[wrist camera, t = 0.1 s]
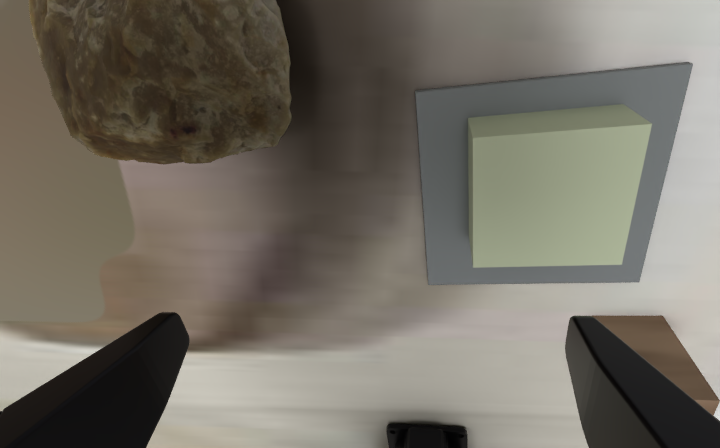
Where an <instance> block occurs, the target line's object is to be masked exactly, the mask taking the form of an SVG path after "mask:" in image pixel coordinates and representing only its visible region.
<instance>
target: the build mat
mask: <svg viewBox="0 0 720 448" xmlns="http://www.w3.org/2000/svg"><path fill="white" fill-rule="evenodd" d="M692 66H693V64H692V63H689V62H686V63H676V64H667V65H657V66H647V67H638V68H628V69H618V70H609V71H599V72H589V73H580V74H570V75H560V76H551V77H541V78H531V79H522V80H512V81H502V82H493V83H483V84H473V85H464V86H454V87H444V88H434V89H425V90H416V91H415V95H416V109H417V124H418V139H419V153H420V168H421V182H422V197H423V212H424V226H425V241H426V256H427V270H428V285H449V284H532V283H614V282H639V281H640V277H641V272H642V268H643V264H644V260H645V256H646V252H647V248H648V244H649V240H650V236H651V232H652V228H653V224H654V220H655V216H656V212H657V208H658V204H659V200H660V196H661V191H662V187H663V183H664V179H665V175H666V171H667V167H668V163H669V159H670V155H671V151H672V147H673V143H674V139H675V135H676V131H677V127H678V123H679V119H680V115H681V110H682V106H683V102H684V98H685V94H686V90H687V86H688V82H689V78H690V74H691V70H692ZM619 104H624V105H625V106H627V107H628V108H630V109H631V110H633V111H634V112H636V113H637V114H639V115H640V116H641V117H643V118H644V119H646V120H647V121H649V122H650V123H652V127H651V132H650V136H649V141H648V146H647V150H646V155H645V159H644V164H643V169H642V173H641V178H640V183H639V187H638V192H637V197H636V201H635V206H634V211H633V215H632V220H631V224H630V229H629V234H628V238H627V243H626V248H625V252H624V257H623V262H622V265H582V266H531V267H480V268H473V264H472V256H471V249H470V241H469V187H468V118H472V117H483V116H494V115H506V114H517V113H528V112H540V111H551V110H562V109H574V108H585V107H596V106H608V105H619Z"/></svg>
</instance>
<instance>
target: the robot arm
mask: <svg viewBox="0 0 720 448" xmlns="http://www.w3.org/2000/svg"><path fill="white" fill-rule="evenodd" d="M188 346H189V335H188V333H187V331H186V328H185V326H184V324H183V322H182V320H181V317H180V316H179V315H178V314H177V313H175V312H162V313H159V314H157V315H155V316H154V317H152V318H151V319H149V320H147V321H146V322H144V323H142V324H141V325H139V326H138V327H136V328H134V329H133V330H131V331H129V332H128V333H126V334H125V335H123V336H121V337H120V338H118V339H116V340H115V341H113V342H112V343H110V344H108V345H107V346H105V347H103V348H102V349H100V350H99V351H97V352H95V353H94V354H92V355H91V356H89V357H87V358H86V359H84V360H82V361H81V362H79V363H78V364H76V365H74V366H73V367H71V368H69V369H68V370H66V371H65V372H63V373H61V374H60V375H58V376H56V377H55V378H53V379H52V380H50V381H48V382H47V383H45V384H43V385H42V386H40V387H39V388H37V389H35V390H34V391H32V392H30V393H29V394H27V395H26V396H24V397H22V398H21V399H19V400H17V401H16V402H14V403H13V404H11V405H9V406H8V407H6V408H5V409H4V410H3V411H0V448H146V446H147V444H148V442H149V440H150V438H151V436H152V434H153V432H154V430H155V428H156V426H157V424H158V422H159V420H160V418H161V416H162V413H163V411H164V409H165V407H166V405H167V402H168V400H169V397H170V395H171V392H172V390H173V387H174V384H175V382H176V379H177V376H178V374H179V371H180V368H181V365H182V363H183V360H184V357H185V355H186V352H187V349H188ZM565 352H566V358H567V362H568V367H569V371H570V376H571V380H572V385H573V389H574V394H575V398H576V403H577V407H578V412H579V416H580V420H581V424H582V428H583V431H584V434H585V438H586V441H587V443H588V446H589V448H720V421H719V420H718V419H717V418H715V417H714V416H713V415H712V414H711V413H709V412H708V411H707V410H706V409H705V408H703V407H702V406H701V405H700V404H699V403H697V402H696V401H695V400H694V399H693V398H691V397H690V396H689V395H688V394H686V393H685V392H684V391H683V390H682V389H680V388H679V387H678V386H677V385H676V384H674V383H673V382H672V381H671V380H670V379H668V378H667V377H666V376H665V375H664V374H662V373H661V372H660V371H659V370H658V369H656V368H655V367H654V366H653V365H651V364H650V363H649V362H648V361H647V360H645V359H644V358H643V357H642V356H641V355H639V354H638V353H637V352H636V351H635V350H633V349H632V348H631V347H630V346H629V345H627V344H626V343H625V342H624V341H622V340H621V339H620V338H619V337H618V336H616V335H615V334H614V333H613V332H612V331H610V330H609V329H608V328H607V327H606V326H604V325H603V324H602V323H601V322H600V321H598V320H597V319H596V318H594V317H592V316H573V317H571V318H570V320H569V325H568V331H567V337H566V344H565ZM387 437H388V443H389V448H467V430H466V429H464V428H461V427H442V426H424V425H405V424H389V425H388V426H387Z"/></svg>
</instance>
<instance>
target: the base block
mask: <svg viewBox="0 0 720 448" xmlns="http://www.w3.org/2000/svg"><path fill="white" fill-rule="evenodd" d="M651 127H652V123H650V122H649V121H647V120H646V119H644V118H643V117H641V116H640V115H639V114H637V113H636V112H634V111H633V110H631V109H630V108H628V107H627V106H625V105H624V104H619V105H608V106H596V107H585V108H574V109H562V110H551V111H540V112H528V113H517V114H506V115H494V116H483V117H472V118H468V187H469V241H470V249H471V256H472V264H473V268H480V267H531V266H582V265H622V262H623V257H624V252H625V248H626V243H627V238H628V234H629V229H630V224H631V220H632V215H633V211H634V206H635V201H636V197H637V192H638V187H639V183H640V178H641V173H642V169H643V164H644V159H645V155H646V150H647V146H648V141H649V136H650V132H651Z"/></svg>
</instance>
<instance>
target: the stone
mask: <svg viewBox="0 0 720 448" xmlns="http://www.w3.org/2000/svg"><path fill="white" fill-rule="evenodd" d="M28 5H29V12H30V20H31V24H32V27H33V36H34V38H35V40H36V41H37V46H38V51H39V55H40V58H41V61H42V64H43V67H44V69H45V71H46V73H47V76H48V79H49V82H50V86H51V92H52V96H53V97H54V99H55V101H56V102H57V105H58V107H59V109H60V111H61V114H62V116H63V118H64V121H65V123H66V125H67V127H68V129H69V132H70V135H71V136H72V137H73V138H75V139H76V140H77V141H78V142H80V143H81V144H82V145H84V146H85V147H86V148H87V149H88V150H89V151H91V152H92V153H94V154H95V155H99V156H101V157H108V158H113V159H118V160H125V161H127V160H136V161H138V162H149V163H157V164H171V163H178V162H185V163H208V162H212V161H214V160H216V159H219V158H223V157H226V156H229V155H234V154H239V153H240V152H245V151H251V150H255V149H258V148H266V147H273V146H276V145H277V144H278V143H279V140H280V138H281V137H282V136H283V135H284V133H285V131H286V129H287V128H288V126H289V124H290V122H291V117H292V115H291V112H290V109H289V108H290V104H291V99H292V97H291V93H290V88H289V68H290V65H291V62H290V56H289V46H288V42H287V38H286V34H285V30H284V26H283V22H282V17H281V12H280V8H279V6H278V5H277V2H276V0H29V4H28Z"/></svg>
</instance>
